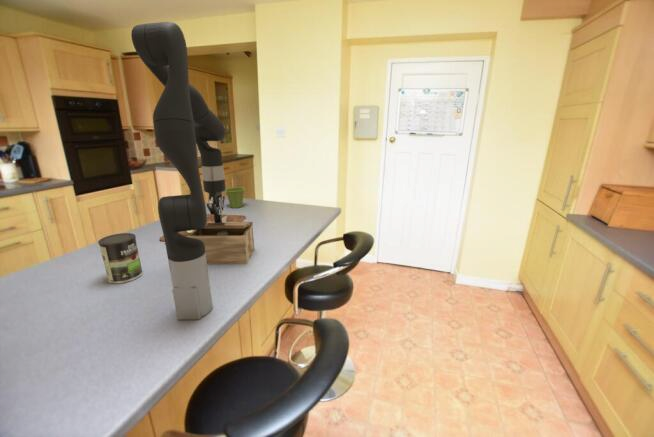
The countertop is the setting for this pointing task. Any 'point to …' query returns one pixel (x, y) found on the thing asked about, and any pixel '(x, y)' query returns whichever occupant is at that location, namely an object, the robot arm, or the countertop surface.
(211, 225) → the lid
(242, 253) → the wooden box
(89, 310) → the countertop surface
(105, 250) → the coffee can
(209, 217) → the chopping board
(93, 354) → the countertop surface
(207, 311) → the robot arm
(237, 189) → the plant pot
